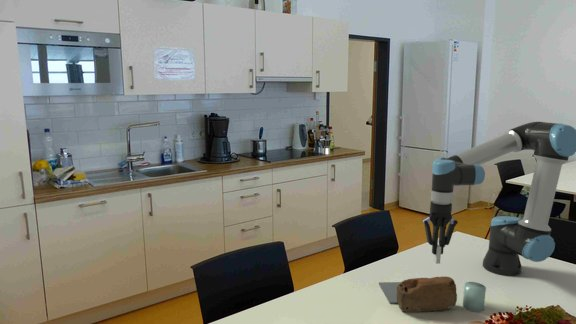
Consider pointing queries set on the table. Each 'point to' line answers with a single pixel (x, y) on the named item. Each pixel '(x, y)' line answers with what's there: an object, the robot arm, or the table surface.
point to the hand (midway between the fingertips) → (436, 262)
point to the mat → (390, 291)
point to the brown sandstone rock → (426, 294)
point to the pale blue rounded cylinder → (474, 296)
